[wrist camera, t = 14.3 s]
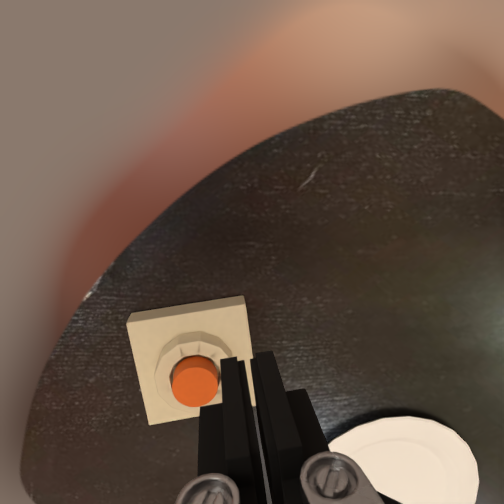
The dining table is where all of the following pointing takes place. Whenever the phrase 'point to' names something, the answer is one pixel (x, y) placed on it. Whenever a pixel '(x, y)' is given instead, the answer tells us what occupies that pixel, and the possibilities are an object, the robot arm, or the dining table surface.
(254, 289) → the dining table surface
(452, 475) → the plate
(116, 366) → the dining table surface
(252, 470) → the robot arm
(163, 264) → the dining table surface
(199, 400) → the button
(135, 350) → the square push button base
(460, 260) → the dining table surface
